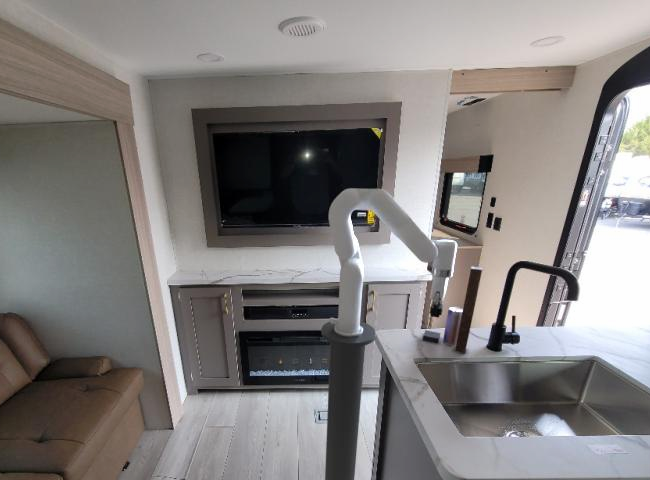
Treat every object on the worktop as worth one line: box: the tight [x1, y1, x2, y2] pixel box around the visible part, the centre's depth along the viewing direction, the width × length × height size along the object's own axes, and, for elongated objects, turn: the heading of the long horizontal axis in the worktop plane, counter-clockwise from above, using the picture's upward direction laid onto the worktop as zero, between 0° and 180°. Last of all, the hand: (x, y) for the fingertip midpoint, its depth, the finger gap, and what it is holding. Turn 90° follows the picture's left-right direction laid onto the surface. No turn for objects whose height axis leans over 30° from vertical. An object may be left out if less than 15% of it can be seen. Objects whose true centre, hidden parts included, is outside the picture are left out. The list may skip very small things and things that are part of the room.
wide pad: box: [422, 329, 441, 344], centre depth 138 cm, size 6×6×2 cm
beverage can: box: [442, 306, 463, 346], centre depth 133 cm, size 6×6×15 cm
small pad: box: [429, 302, 444, 316], centre depth 134 cm, size 4×4×3 cm
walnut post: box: [454, 265, 484, 354], centre depth 124 cm, size 4×4×34 cm
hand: (435, 314), depth 134 cm, fingers closed on small pad, 4 cm apart
